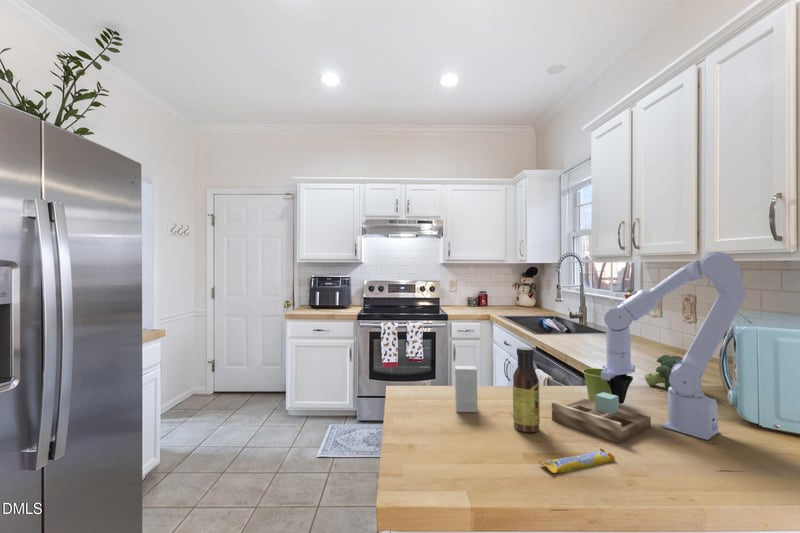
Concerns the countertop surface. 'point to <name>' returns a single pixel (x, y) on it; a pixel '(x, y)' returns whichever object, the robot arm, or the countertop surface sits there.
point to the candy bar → (578, 461)
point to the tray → (600, 420)
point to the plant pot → (595, 383)
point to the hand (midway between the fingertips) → (618, 402)
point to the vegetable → (663, 371)
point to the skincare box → (466, 388)
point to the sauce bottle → (526, 393)
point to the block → (607, 403)
